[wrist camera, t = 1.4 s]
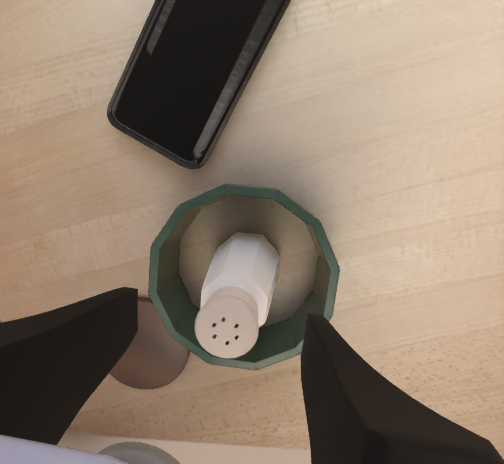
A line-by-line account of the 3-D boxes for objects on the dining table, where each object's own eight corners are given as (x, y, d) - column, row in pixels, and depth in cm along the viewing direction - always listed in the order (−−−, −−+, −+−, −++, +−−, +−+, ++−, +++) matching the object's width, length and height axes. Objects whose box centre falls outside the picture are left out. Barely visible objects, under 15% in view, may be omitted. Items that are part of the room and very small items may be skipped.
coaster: (186, 391, 25) (184, 395, 25) (97, 377, 26) (93, 382, 25) (193, 304, 24) (192, 307, 23) (100, 292, 24) (96, 294, 24)
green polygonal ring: (312, 344, 24) (322, 380, 19) (167, 324, 24) (144, 355, 20) (335, 195, 22) (351, 198, 18) (177, 178, 23) (154, 176, 18)
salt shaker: (202, 276, 24) (143, 353, 13) (232, 218, 23) (196, 246, 12) (261, 307, 24) (252, 409, 13) (293, 250, 23) (313, 307, 12)
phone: (303, -33, 19) (195, 173, 21) (301, -21, 20) (199, 174, 22) (196, -97, 19) (100, 119, 21) (200, -81, 20) (108, 122, 22)
